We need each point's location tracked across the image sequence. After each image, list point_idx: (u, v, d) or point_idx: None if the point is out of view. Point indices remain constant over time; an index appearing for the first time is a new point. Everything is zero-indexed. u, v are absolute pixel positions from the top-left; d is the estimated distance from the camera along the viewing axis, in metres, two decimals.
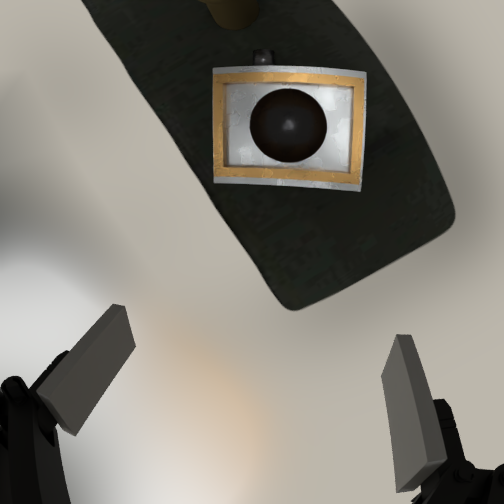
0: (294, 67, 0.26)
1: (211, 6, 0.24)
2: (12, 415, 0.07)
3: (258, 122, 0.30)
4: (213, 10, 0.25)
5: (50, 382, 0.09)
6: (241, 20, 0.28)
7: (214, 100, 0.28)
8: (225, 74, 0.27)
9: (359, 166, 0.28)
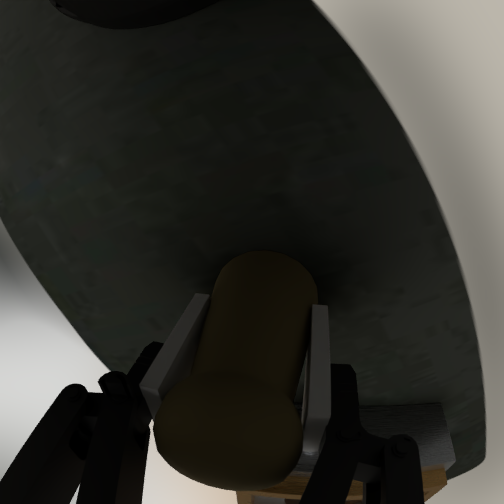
0: None
1: None
2: (104, 412, 0.08)
3: (296, 499, 0.18)
4: None
5: (154, 374, 0.10)
6: None
7: (239, 500, 0.16)
8: (255, 491, 0.15)
9: None
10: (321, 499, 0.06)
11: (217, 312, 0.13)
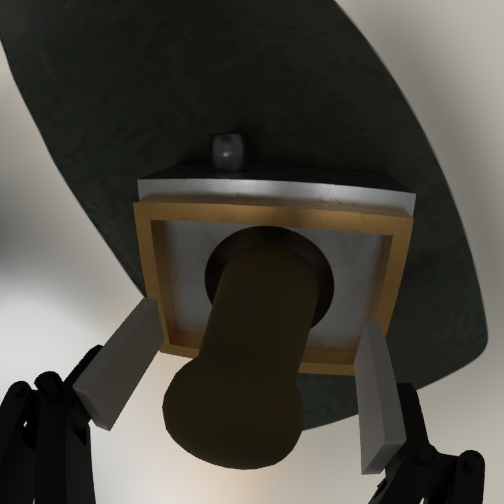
0: (281, 184, 0.16)
1: None
2: (44, 411, 0.08)
3: (218, 281, 0.19)
4: None
5: (87, 376, 0.10)
6: None
7: (141, 249, 0.17)
8: (152, 204, 0.16)
9: None
10: None
11: (224, 300, 0.14)
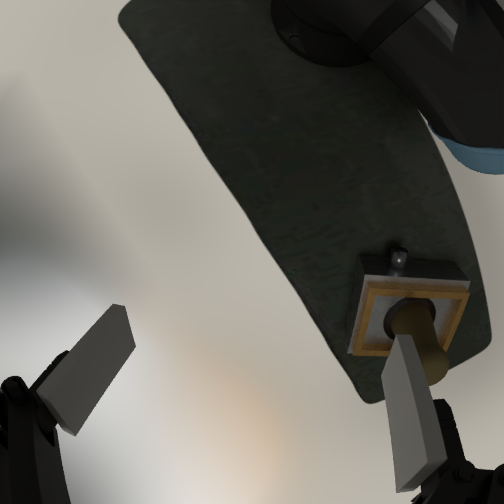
0: (426, 279, 0.34)
1: None
2: (12, 415, 0.07)
3: (390, 318, 0.37)
4: None
5: (50, 382, 0.09)
6: None
7: (366, 308, 0.36)
8: (379, 289, 0.34)
9: (448, 346, 0.36)
10: None
11: (413, 328, 0.32)
